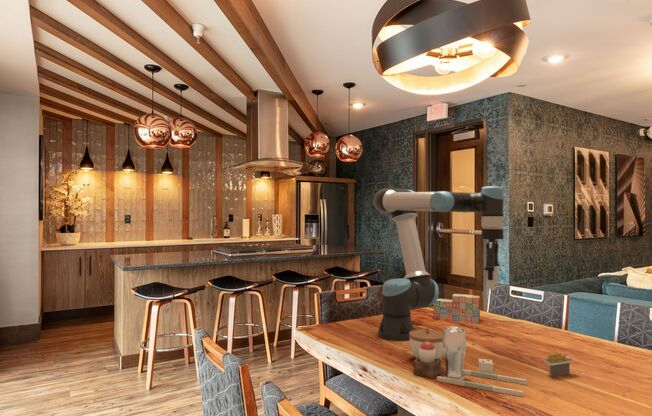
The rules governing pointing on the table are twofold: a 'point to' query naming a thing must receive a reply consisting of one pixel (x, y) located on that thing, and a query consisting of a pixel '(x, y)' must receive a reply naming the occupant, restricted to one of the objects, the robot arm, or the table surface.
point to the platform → (558, 365)
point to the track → (484, 386)
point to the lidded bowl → (426, 335)
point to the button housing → (427, 368)
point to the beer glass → (454, 352)
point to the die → (486, 366)
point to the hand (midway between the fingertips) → (492, 286)
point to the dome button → (427, 353)
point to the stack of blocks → (458, 308)
